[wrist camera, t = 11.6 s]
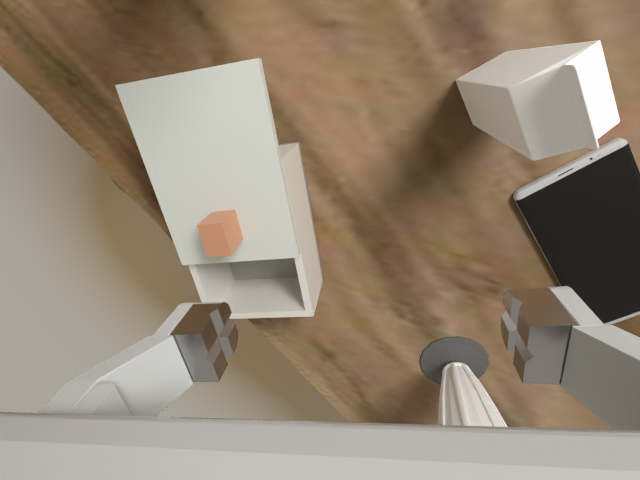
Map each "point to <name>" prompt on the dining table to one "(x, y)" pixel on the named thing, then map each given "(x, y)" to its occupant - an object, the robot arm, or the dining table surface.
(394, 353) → the dining table surface
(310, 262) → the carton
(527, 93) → the milk
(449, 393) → the cup
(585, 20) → the dining table surface
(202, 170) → the lid
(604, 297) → the smartphone
